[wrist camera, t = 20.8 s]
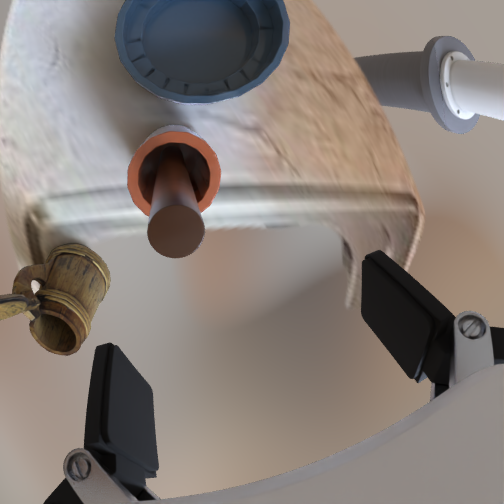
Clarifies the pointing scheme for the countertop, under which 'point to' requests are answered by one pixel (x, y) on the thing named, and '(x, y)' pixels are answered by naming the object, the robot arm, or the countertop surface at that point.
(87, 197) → the countertop surface
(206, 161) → the holder
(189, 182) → the stick
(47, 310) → the wooden mug
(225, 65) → the bowl
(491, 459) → the robot arm
